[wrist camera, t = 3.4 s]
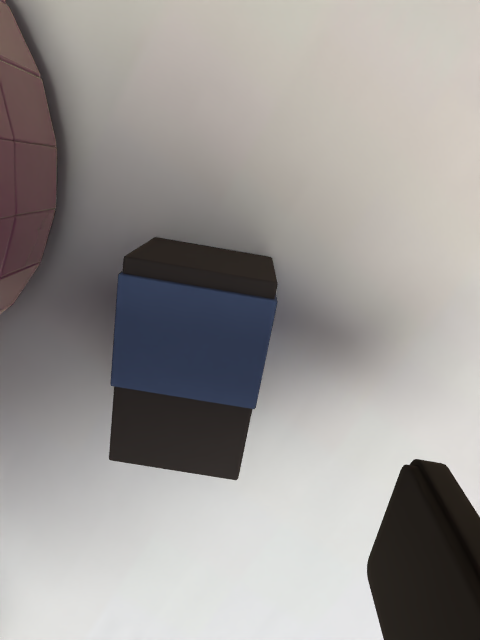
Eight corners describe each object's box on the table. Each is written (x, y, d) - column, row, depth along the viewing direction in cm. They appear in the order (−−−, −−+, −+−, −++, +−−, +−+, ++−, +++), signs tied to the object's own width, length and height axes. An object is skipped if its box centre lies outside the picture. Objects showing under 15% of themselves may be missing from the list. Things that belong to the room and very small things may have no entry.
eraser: (136, 401, 17) (104, 463, 14) (151, 236, 15) (119, 256, 11) (242, 419, 18) (240, 484, 14) (274, 257, 15) (281, 284, 12)
